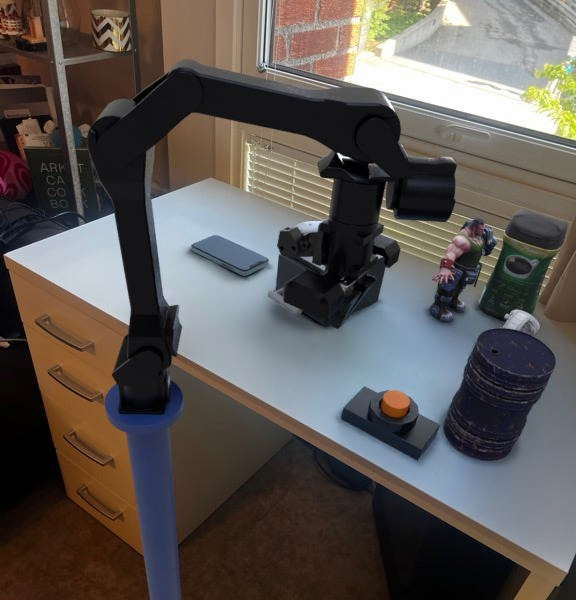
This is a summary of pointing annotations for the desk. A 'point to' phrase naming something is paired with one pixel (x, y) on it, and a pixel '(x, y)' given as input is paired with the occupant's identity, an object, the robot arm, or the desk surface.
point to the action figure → (461, 267)
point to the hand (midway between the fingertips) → (336, 326)
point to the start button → (395, 403)
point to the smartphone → (230, 255)
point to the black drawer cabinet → (373, 292)
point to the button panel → (390, 423)
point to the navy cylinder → (497, 393)
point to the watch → (521, 322)
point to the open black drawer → (285, 273)
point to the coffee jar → (522, 263)
